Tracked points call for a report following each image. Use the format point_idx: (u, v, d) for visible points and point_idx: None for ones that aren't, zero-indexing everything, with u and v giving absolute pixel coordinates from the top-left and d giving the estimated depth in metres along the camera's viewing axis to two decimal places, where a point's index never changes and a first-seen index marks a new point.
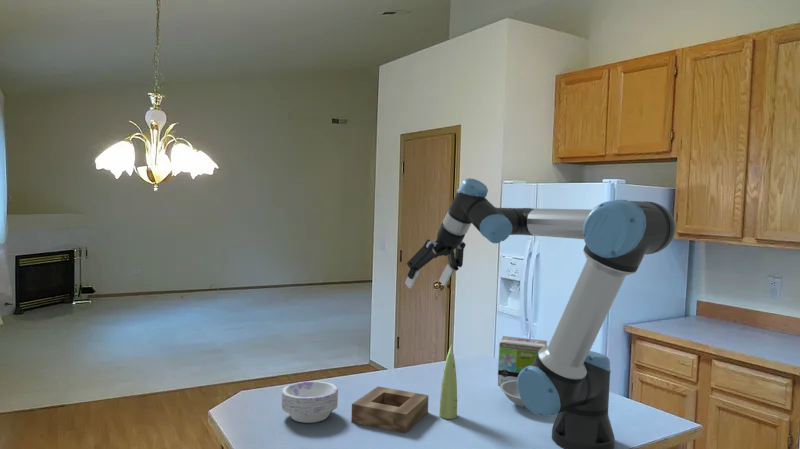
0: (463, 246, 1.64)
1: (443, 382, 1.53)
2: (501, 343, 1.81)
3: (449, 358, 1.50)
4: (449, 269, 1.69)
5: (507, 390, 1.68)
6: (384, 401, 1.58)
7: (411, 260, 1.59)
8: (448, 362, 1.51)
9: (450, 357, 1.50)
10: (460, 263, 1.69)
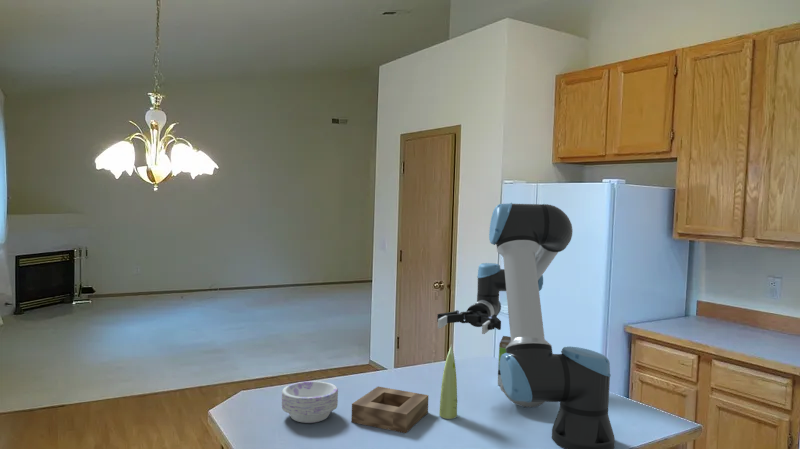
0: (494, 315, 1.74)
1: (443, 382, 1.53)
2: (501, 343, 1.81)
3: (449, 358, 1.50)
4: None
5: None
6: (384, 401, 1.58)
7: None
8: (448, 362, 1.51)
9: (450, 357, 1.50)
10: (497, 320, 1.67)
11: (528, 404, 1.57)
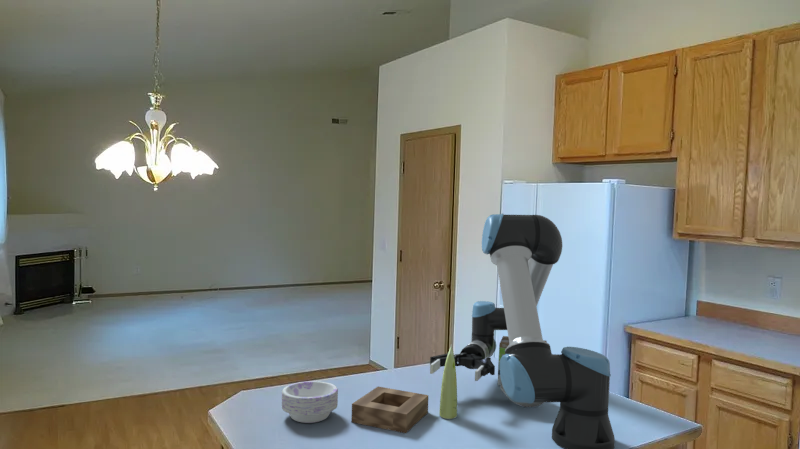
0: (488, 358, 1.71)
1: (443, 382, 1.53)
2: (501, 343, 1.81)
3: (449, 358, 1.50)
4: None
5: None
6: (384, 401, 1.58)
7: None
8: (448, 362, 1.51)
9: (450, 357, 1.50)
10: (491, 365, 1.63)
11: (528, 404, 1.57)
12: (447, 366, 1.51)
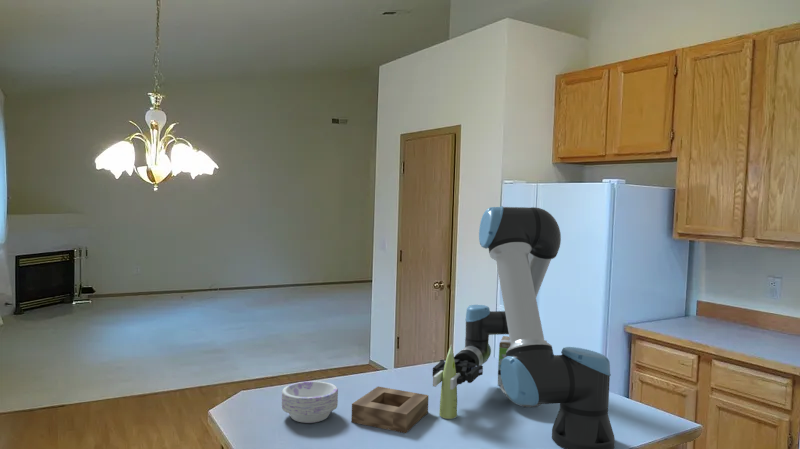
0: (480, 366, 1.62)
1: (443, 382, 1.53)
2: (501, 343, 1.81)
3: (449, 358, 1.50)
4: None
5: None
6: (384, 401, 1.58)
7: None
8: (448, 362, 1.51)
9: (450, 357, 1.50)
10: (470, 372, 1.55)
11: None
12: (447, 366, 1.51)
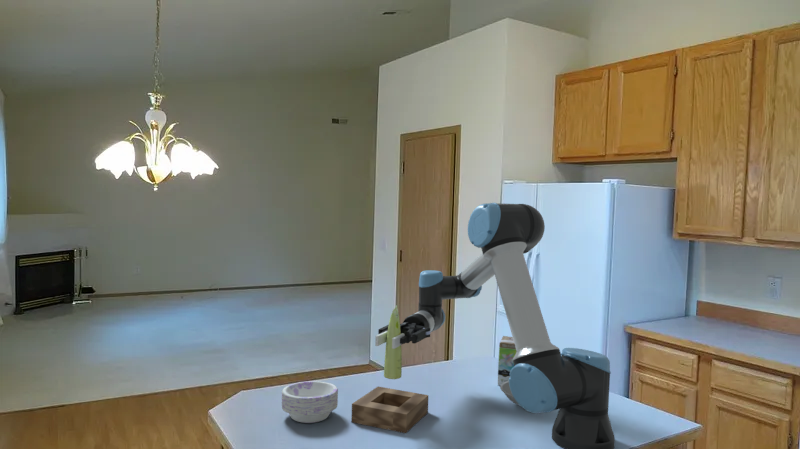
0: (427, 328, 1.60)
1: (387, 342, 1.51)
2: (501, 343, 1.81)
3: (392, 317, 1.49)
4: None
5: (507, 390, 1.68)
6: (384, 401, 1.58)
7: None
8: (391, 321, 1.49)
9: (393, 316, 1.49)
10: (415, 333, 1.54)
11: None
12: (390, 325, 1.49)
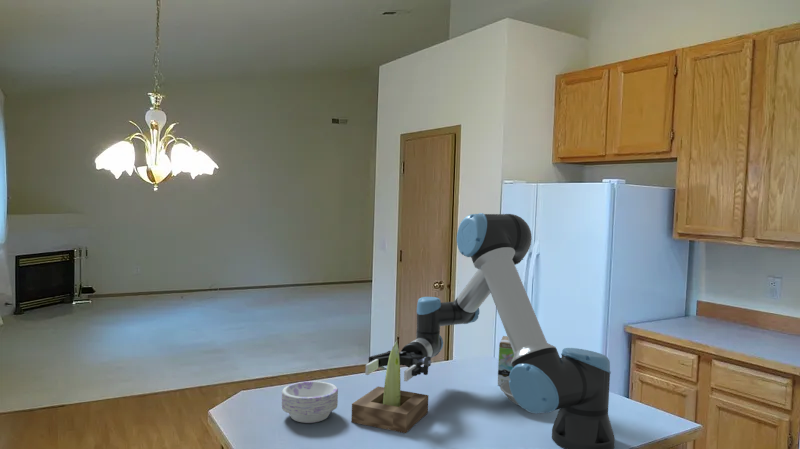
0: (428, 357, 1.61)
1: (386, 378, 1.51)
2: (501, 343, 1.81)
3: (392, 354, 1.49)
4: None
5: (507, 390, 1.68)
6: None
7: None
8: (391, 358, 1.49)
9: (393, 353, 1.49)
10: (425, 364, 1.54)
11: None
12: (390, 362, 1.49)
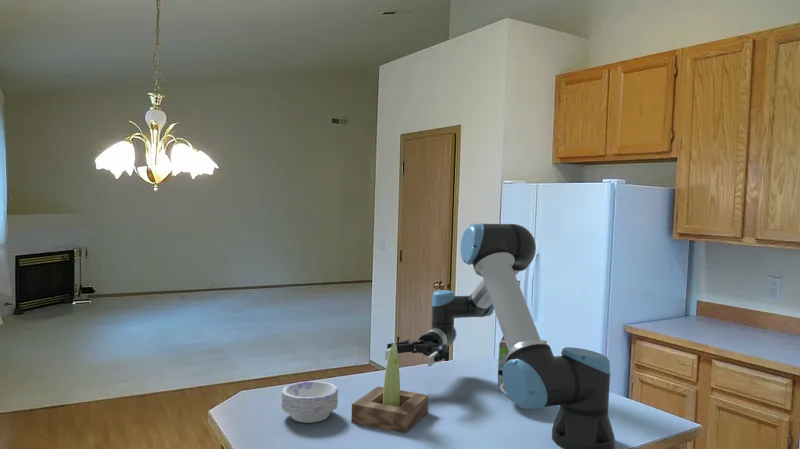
0: (444, 345, 1.74)
1: (385, 378, 1.51)
2: (501, 343, 1.81)
3: (390, 354, 1.49)
4: None
5: None
6: None
7: None
8: (389, 358, 1.49)
9: (391, 353, 1.49)
10: (445, 351, 1.67)
11: None
12: (388, 362, 1.49)
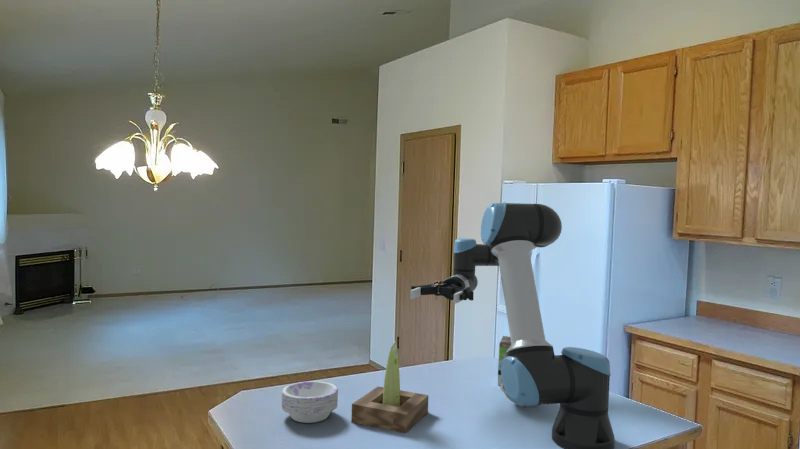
0: (468, 287, 1.74)
1: (385, 378, 1.51)
2: (501, 343, 1.81)
3: (390, 354, 1.49)
4: None
5: None
6: None
7: None
8: (389, 358, 1.49)
9: (391, 353, 1.49)
10: (470, 291, 1.67)
11: None
12: (388, 362, 1.49)
